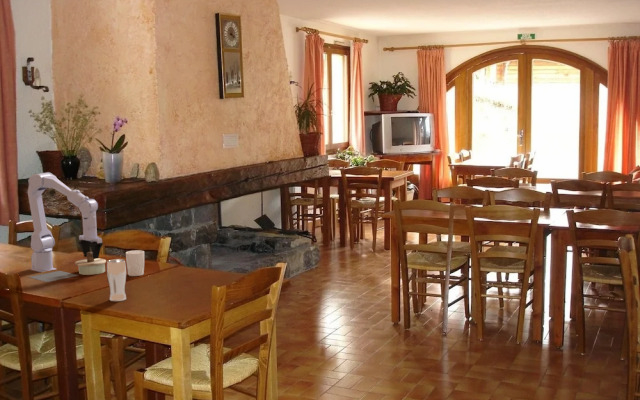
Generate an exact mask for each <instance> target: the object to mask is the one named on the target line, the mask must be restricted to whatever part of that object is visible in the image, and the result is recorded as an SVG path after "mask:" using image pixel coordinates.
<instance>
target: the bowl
mask: <svg viewBox="0 0 640 400" xmlns="http://www.w3.org/2000/svg"><path fill="white" fill-rule="evenodd" d="M105 272H106V263H105V264H102V265H97V266H78V275H79V274H80V275H83V276H84V275H86V276H90V275H99V274H103V273H105Z"/></svg>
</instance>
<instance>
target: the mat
mask: <svg viewBox="0 0 640 400" xmlns="http://www.w3.org/2000/svg"><path fill="white" fill-rule="evenodd" d="M78 276H80V275H79V274H75V273H72V272H67V271H63V270H57V271H51V272H47V273H41V274H37V275H32V276H28V278H30V279H33V280H38V281H41V282H45V283H49V282H50V283H51V282H54V281H61V280H63V279H69V278H73V277H78Z"/></svg>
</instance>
